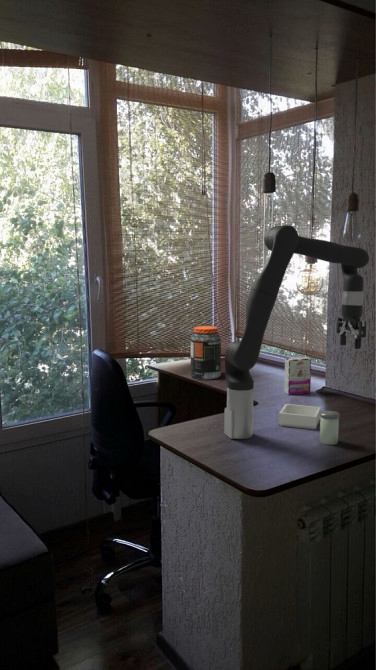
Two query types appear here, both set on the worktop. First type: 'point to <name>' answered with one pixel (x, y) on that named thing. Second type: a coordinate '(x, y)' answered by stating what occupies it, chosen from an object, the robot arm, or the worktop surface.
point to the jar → (329, 427)
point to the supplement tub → (205, 353)
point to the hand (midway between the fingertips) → (350, 346)
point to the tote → (299, 416)
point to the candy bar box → (297, 375)
